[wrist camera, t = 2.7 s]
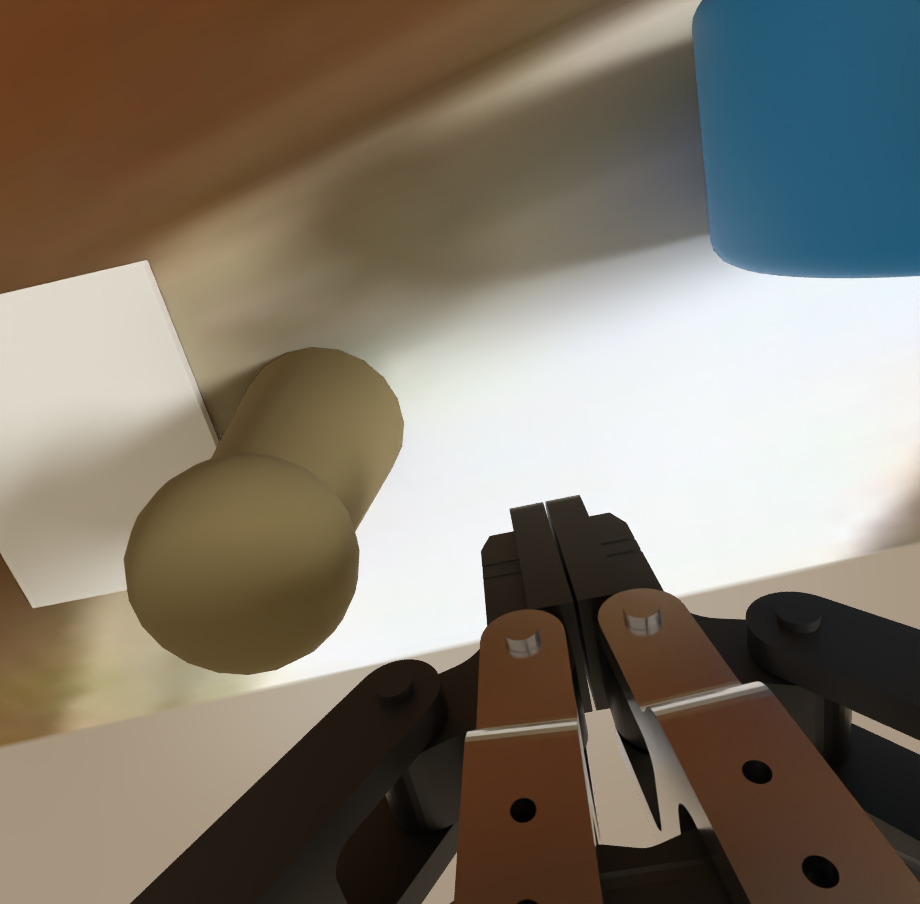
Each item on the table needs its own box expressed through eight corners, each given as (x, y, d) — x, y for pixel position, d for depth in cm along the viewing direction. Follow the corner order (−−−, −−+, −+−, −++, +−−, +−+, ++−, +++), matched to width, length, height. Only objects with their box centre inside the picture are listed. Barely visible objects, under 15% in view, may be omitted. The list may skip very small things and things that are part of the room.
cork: (257, 502, 24) (116, 723, 14) (227, 351, 22) (33, 487, 12) (410, 494, 24) (380, 712, 14) (396, 342, 22) (349, 470, 12)
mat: (-125, 323, 21) (-135, 325, 21) (147, 259, 21) (141, 261, 20) (38, 602, 26) (32, 608, 25) (265, 558, 25) (262, 563, 25)
